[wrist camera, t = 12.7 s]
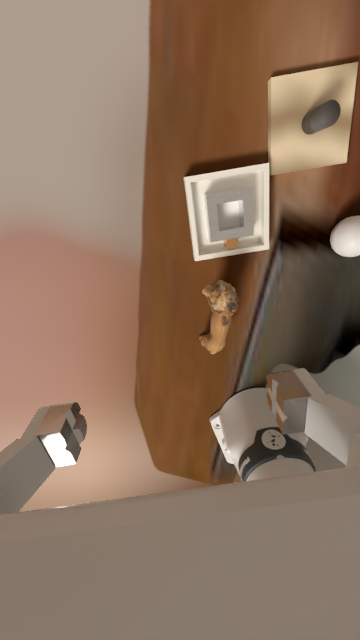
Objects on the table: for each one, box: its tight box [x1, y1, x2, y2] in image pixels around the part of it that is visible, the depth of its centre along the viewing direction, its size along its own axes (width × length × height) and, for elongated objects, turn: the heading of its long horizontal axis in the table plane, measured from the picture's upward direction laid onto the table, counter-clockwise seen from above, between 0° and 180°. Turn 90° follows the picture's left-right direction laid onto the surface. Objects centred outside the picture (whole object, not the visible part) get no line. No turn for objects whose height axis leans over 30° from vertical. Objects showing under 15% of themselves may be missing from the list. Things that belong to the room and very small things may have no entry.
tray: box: [184, 163, 269, 261], centre depth 36 cm, size 11×11×2 cm
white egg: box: [330, 215, 360, 257], centre depth 36 cm, size 8×6×6 cm
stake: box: [268, 62, 358, 176], centre depth 30 cm, size 10×10×5 cm
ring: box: [204, 187, 254, 248], centre depth 36 cm, size 6×7×2 cm
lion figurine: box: [199, 280, 239, 354], centre depth 40 cm, size 15×5×9 cm, turn 3°
